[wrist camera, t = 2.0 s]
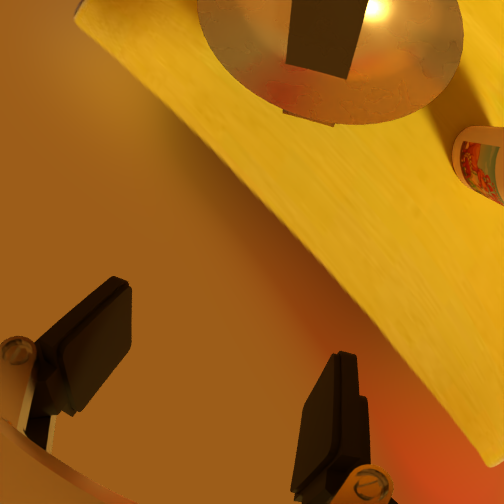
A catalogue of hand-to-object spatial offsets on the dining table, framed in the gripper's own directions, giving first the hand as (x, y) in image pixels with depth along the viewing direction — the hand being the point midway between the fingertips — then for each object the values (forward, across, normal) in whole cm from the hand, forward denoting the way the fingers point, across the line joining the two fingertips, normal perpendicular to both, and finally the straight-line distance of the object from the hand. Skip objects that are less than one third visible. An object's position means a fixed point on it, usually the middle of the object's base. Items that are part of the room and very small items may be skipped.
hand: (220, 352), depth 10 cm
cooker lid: (+12, 0, -14) cm, 19 cm away
